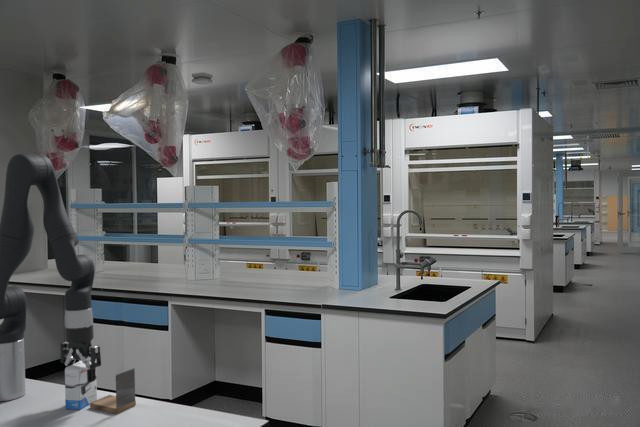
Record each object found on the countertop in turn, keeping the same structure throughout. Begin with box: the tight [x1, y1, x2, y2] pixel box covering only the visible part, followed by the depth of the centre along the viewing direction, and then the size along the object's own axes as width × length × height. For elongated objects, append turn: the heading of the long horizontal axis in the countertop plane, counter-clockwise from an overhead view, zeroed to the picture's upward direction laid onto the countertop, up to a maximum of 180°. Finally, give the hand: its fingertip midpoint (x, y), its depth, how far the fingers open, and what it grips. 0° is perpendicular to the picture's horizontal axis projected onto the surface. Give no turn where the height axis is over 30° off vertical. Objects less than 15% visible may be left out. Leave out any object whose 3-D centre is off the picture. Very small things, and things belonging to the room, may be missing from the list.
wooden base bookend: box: [89, 367, 137, 415], centre depth 160 cm, size 11×7×11 cm, turn 63°
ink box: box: [64, 360, 98, 411], centre depth 162 cm, size 8×5×12 cm, turn 168°
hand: (81, 379), depth 162 cm, fingers open, 8 cm apart
